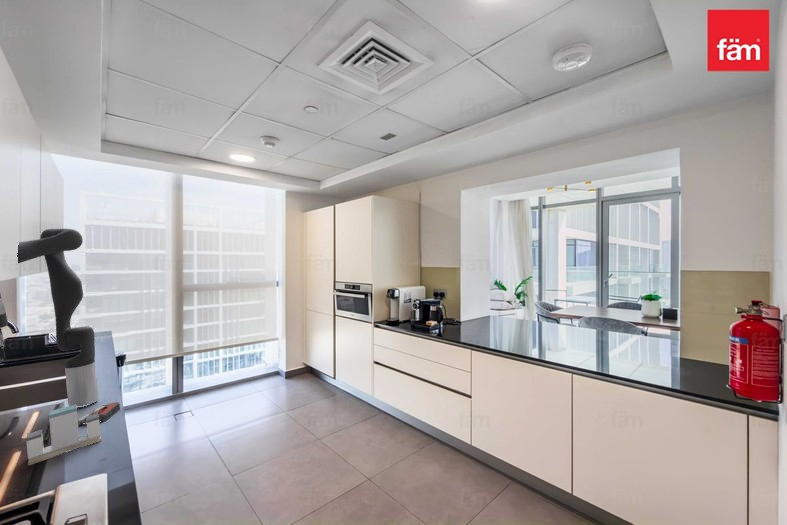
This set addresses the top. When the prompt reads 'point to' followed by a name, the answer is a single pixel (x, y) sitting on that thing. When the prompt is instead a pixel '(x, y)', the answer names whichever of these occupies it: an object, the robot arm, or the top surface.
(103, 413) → the walkie-talkie
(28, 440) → the mounted modules
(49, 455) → the wood panel
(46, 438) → the top surface
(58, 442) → the block
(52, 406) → the top surface
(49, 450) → the rail
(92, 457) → the top surface
